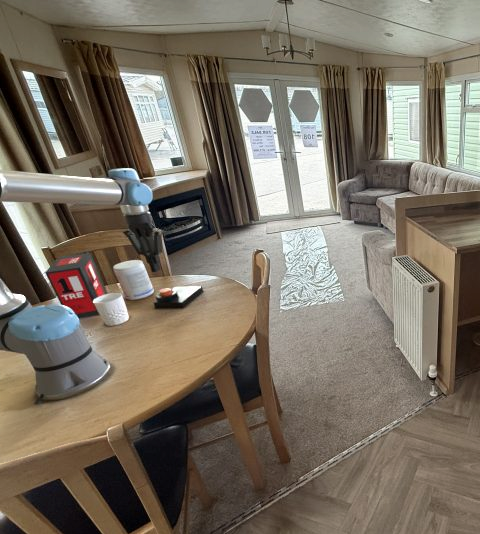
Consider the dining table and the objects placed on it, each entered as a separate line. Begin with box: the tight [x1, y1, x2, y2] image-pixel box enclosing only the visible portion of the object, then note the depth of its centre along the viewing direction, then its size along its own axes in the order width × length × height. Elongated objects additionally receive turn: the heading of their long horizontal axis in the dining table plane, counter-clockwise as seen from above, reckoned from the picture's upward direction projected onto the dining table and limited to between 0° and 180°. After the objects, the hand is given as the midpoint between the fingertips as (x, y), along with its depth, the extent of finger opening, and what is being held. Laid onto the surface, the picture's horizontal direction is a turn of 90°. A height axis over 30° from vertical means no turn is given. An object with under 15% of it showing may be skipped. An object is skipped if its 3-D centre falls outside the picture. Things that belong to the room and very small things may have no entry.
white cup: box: [93, 292, 130, 327], centre depth 125 cm, size 8×8×10 cm
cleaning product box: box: [44, 252, 109, 319], centre depth 131 cm, size 16×9×20 cm, turn 33°
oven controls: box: [152, 285, 204, 309], centre depth 142 cm, size 14×11×4 cm
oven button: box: [158, 287, 173, 297], centre depth 138 cm, size 4×4×2 cm
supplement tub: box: [112, 259, 155, 301], centre depth 142 cm, size 10×10×15 cm
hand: (156, 270), depth 133 cm, fingers closed
